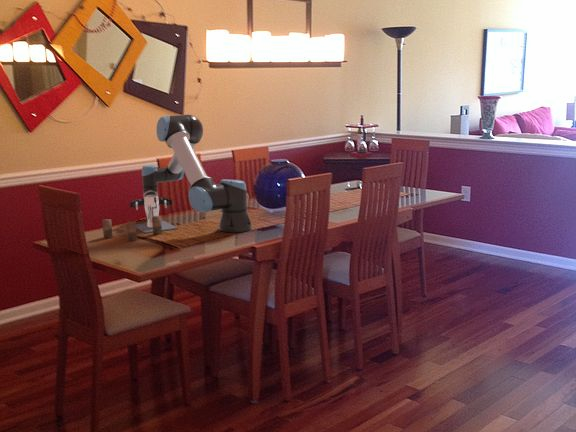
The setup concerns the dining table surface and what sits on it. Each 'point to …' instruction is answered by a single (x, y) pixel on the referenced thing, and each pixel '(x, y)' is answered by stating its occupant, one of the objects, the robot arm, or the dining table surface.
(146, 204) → the beer glass
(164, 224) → the slate mat
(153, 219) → the walnut spacer posts
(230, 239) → the dining table surface
